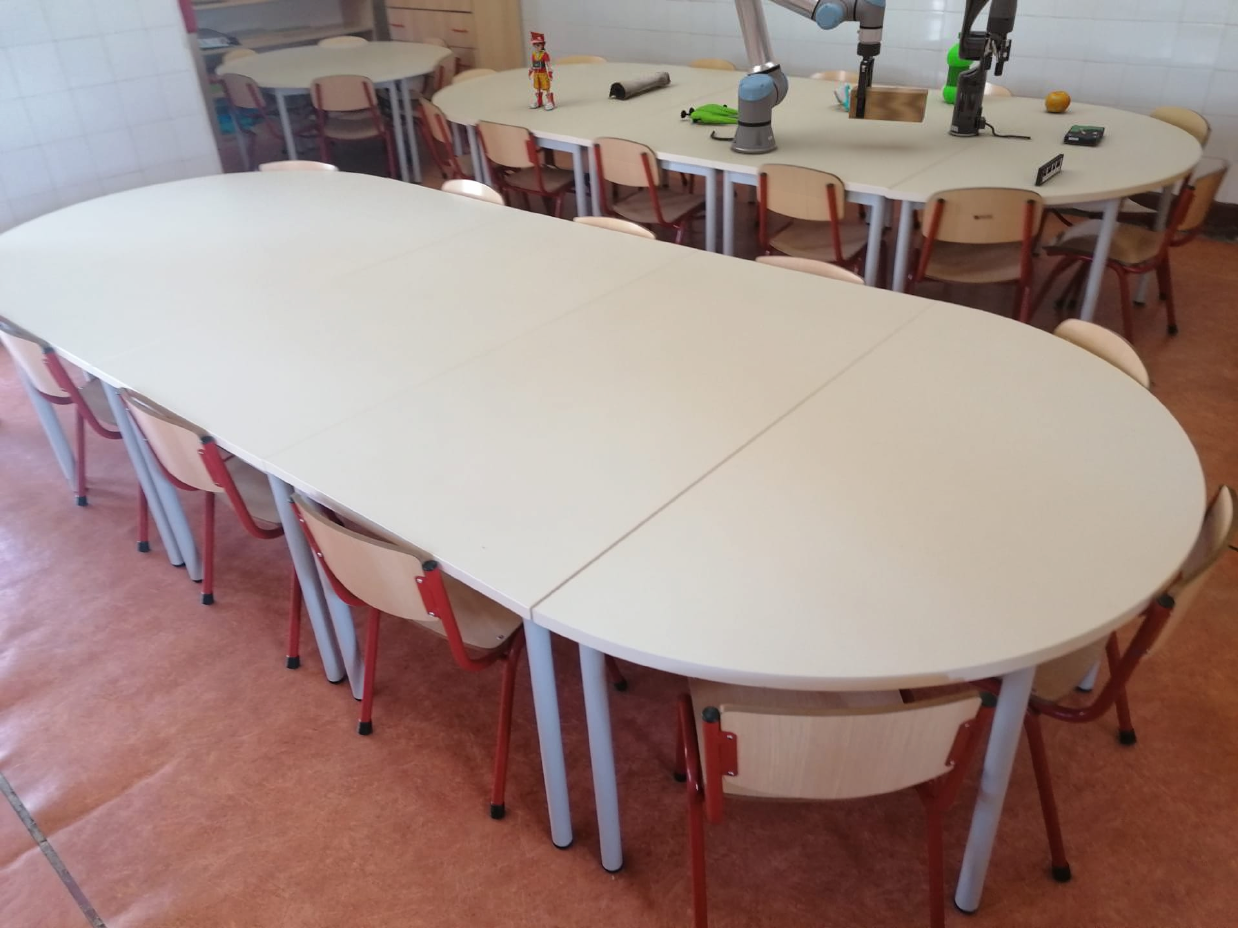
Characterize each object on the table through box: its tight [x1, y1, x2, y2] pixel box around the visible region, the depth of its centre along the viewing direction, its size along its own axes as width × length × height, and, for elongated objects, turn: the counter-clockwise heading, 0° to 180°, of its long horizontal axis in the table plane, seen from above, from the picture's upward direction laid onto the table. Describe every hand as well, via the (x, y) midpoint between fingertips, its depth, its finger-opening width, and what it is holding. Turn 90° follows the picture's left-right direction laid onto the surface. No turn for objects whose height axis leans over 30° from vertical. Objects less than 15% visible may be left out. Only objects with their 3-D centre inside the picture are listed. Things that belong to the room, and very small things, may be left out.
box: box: [847, 85, 929, 124], centre depth 302 cm, size 24×6×9 cm, turn 67°
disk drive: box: [1063, 124, 1106, 146], centre depth 304 cm, size 10×3×15 cm
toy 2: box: [680, 103, 738, 124], centre depth 349 cm, size 28×5×30 cm
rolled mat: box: [608, 71, 672, 101], centre depth 395 cm, size 30×9×10 cm
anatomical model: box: [833, 81, 851, 112], centre depth 353 cm, size 15×10×10 cm
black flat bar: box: [1035, 153, 1065, 186], centre depth 273 cm, size 18×1×5 cm, turn 138°
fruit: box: [1044, 90, 1072, 113], centre depth 334 cm, size 8×8×8 cm
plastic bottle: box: [942, 31, 974, 104], centre depth 348 cm, size 10×10×25 cm
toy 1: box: [527, 31, 556, 111], centre depth 374 cm, size 12×9×30 cm
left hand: (861, 115), depth 308 cm, fingers closed on box, 6 cm apart
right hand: (992, 73), depth 274 cm, fingers open, 8 cm apart
